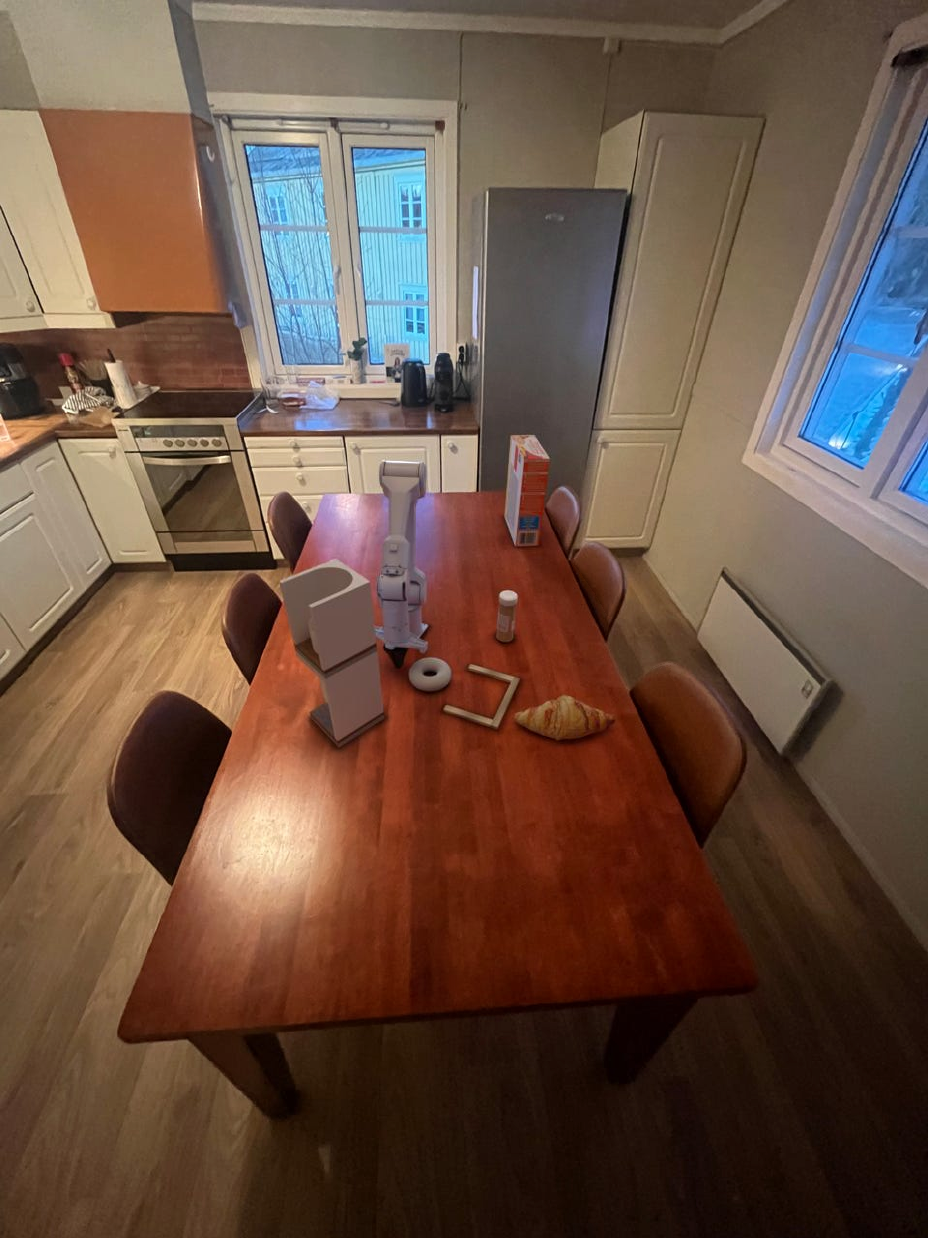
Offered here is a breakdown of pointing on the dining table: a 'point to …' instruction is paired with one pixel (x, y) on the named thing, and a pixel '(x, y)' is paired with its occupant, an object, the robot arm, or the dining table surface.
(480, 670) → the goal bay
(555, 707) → the croissant
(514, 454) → the cereal box
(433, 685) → the donut
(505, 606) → the sprinkles bottle
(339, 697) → the grey pedestal stand
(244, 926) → the dining table surface
